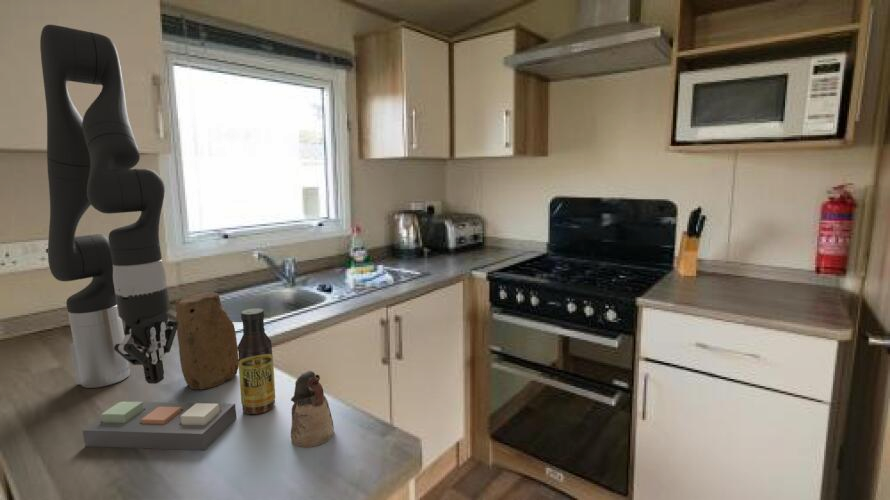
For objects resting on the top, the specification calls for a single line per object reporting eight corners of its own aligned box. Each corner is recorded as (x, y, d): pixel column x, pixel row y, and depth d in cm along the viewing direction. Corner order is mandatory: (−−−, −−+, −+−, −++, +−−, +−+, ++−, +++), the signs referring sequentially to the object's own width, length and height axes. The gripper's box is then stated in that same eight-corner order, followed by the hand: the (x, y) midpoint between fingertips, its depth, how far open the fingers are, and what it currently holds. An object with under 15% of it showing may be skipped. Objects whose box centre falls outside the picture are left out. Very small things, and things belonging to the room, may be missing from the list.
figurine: (318, 420, 87) (312, 359, 84) (342, 433, 82) (337, 369, 80) (283, 438, 81) (277, 374, 79) (307, 453, 77) (301, 385, 75)
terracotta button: (142, 429, 82) (141, 419, 82) (160, 416, 87) (158, 406, 86) (166, 430, 82) (164, 419, 81) (182, 417, 86) (180, 407, 86)
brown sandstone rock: (192, 395, 98) (179, 303, 94) (181, 384, 103) (169, 297, 100) (244, 377, 105) (234, 292, 102) (231, 368, 111) (221, 287, 107)
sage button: (103, 424, 83) (101, 414, 83) (122, 411, 87) (120, 401, 87) (125, 424, 82) (124, 414, 82) (144, 411, 87) (142, 402, 86)
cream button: (181, 426, 81) (180, 415, 81) (197, 413, 86) (196, 403, 85) (205, 427, 81) (204, 416, 81) (220, 413, 85) (218, 403, 85)
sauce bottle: (243, 419, 88) (231, 318, 84) (241, 405, 93) (229, 310, 90) (280, 410, 91) (270, 312, 87) (275, 397, 96) (265, 304, 93)
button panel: (85, 446, 81) (82, 430, 80) (129, 415, 91) (126, 401, 90) (204, 450, 78) (202, 433, 78) (236, 418, 88) (234, 403, 88)
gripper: (149, 277, 86) (161, 365, 90) (88, 298, 74) (106, 399, 77) (187, 278, 86) (198, 366, 89) (132, 298, 73) (148, 401, 76)
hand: (155, 381), depth 83 cm, fingers closed
